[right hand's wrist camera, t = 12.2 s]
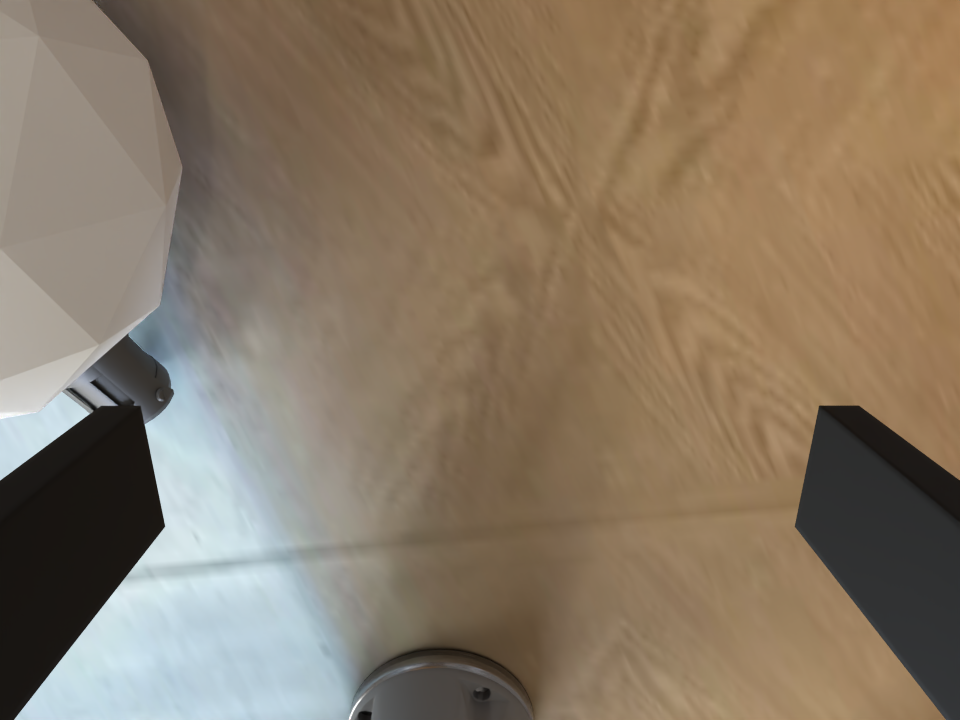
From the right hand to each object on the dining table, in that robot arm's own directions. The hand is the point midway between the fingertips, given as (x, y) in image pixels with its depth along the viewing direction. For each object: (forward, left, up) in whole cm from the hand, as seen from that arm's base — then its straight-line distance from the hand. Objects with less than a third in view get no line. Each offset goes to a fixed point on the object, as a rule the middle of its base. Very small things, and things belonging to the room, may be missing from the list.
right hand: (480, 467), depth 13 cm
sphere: (-24, +9, -29) cm, 38 cm away
